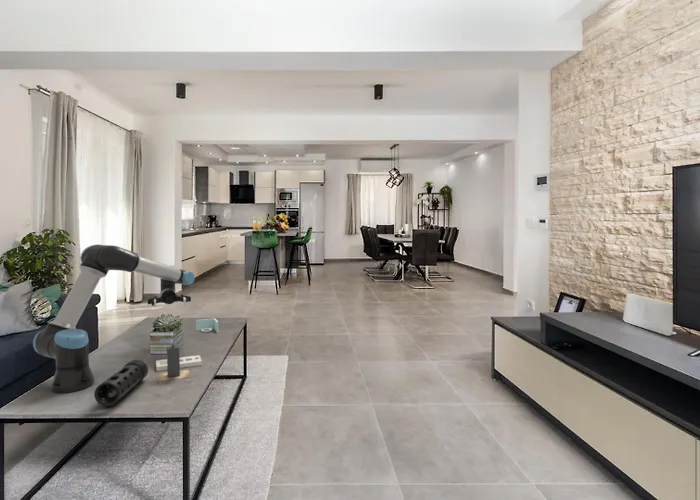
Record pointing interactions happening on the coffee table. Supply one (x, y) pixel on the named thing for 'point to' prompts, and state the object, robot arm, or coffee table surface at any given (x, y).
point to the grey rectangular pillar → (173, 361)
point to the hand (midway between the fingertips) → (170, 303)
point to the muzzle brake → (121, 383)
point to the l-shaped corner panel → (207, 325)
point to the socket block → (184, 362)
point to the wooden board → (165, 377)
